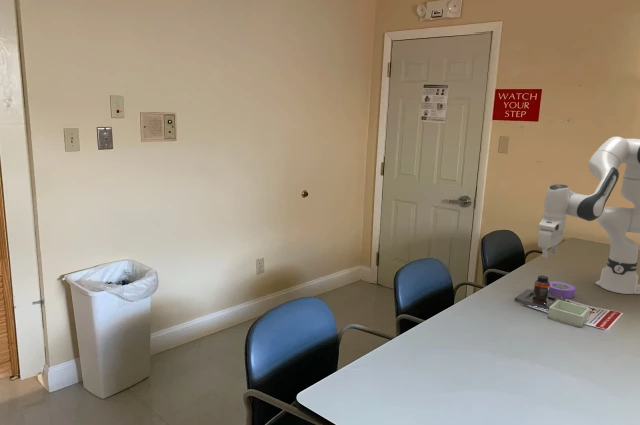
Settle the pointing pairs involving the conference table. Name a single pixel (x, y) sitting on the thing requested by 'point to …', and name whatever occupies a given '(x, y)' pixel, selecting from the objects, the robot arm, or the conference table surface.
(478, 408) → the conference table surface
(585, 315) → the tray
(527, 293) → the socket frame
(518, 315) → the conference table surface
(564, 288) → the masking tape
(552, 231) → the robot arm
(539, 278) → the supplement bottle
